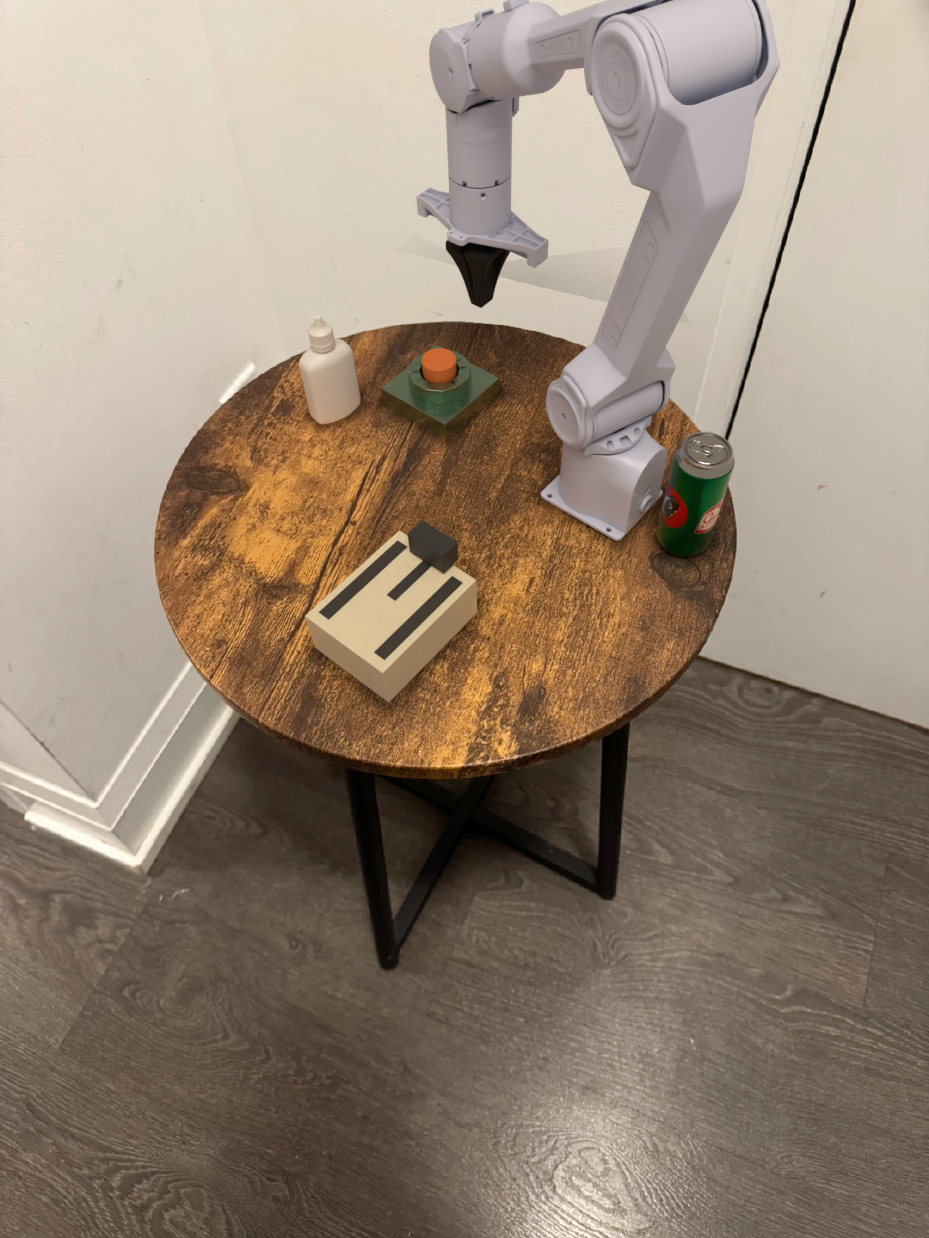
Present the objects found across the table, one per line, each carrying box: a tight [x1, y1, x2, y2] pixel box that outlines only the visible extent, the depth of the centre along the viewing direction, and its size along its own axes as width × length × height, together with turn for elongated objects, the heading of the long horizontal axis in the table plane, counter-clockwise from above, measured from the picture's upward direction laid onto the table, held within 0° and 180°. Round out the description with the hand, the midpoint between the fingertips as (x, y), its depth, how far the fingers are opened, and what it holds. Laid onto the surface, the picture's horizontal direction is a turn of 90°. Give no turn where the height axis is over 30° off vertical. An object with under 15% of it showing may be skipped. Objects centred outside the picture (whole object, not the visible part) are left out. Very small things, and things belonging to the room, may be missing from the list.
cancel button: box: [422, 347, 457, 384], centre depth 93 cm, size 4×4×2 cm
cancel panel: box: [380, 344, 500, 440], centre depth 95 cm, size 9×9×4 cm
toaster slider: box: [407, 519, 459, 573], centre depth 77 cm, size 4×2×2 cm, turn 50°
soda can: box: [656, 431, 736, 558], centre depth 80 cm, size 5×5×12 cm
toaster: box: [304, 530, 478, 703], centre depth 78 cm, size 9×13×5 cm
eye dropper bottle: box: [298, 314, 362, 425], centre depth 92 cm, size 4×6×12 cm
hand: (481, 301), depth 91 cm, fingers closed
